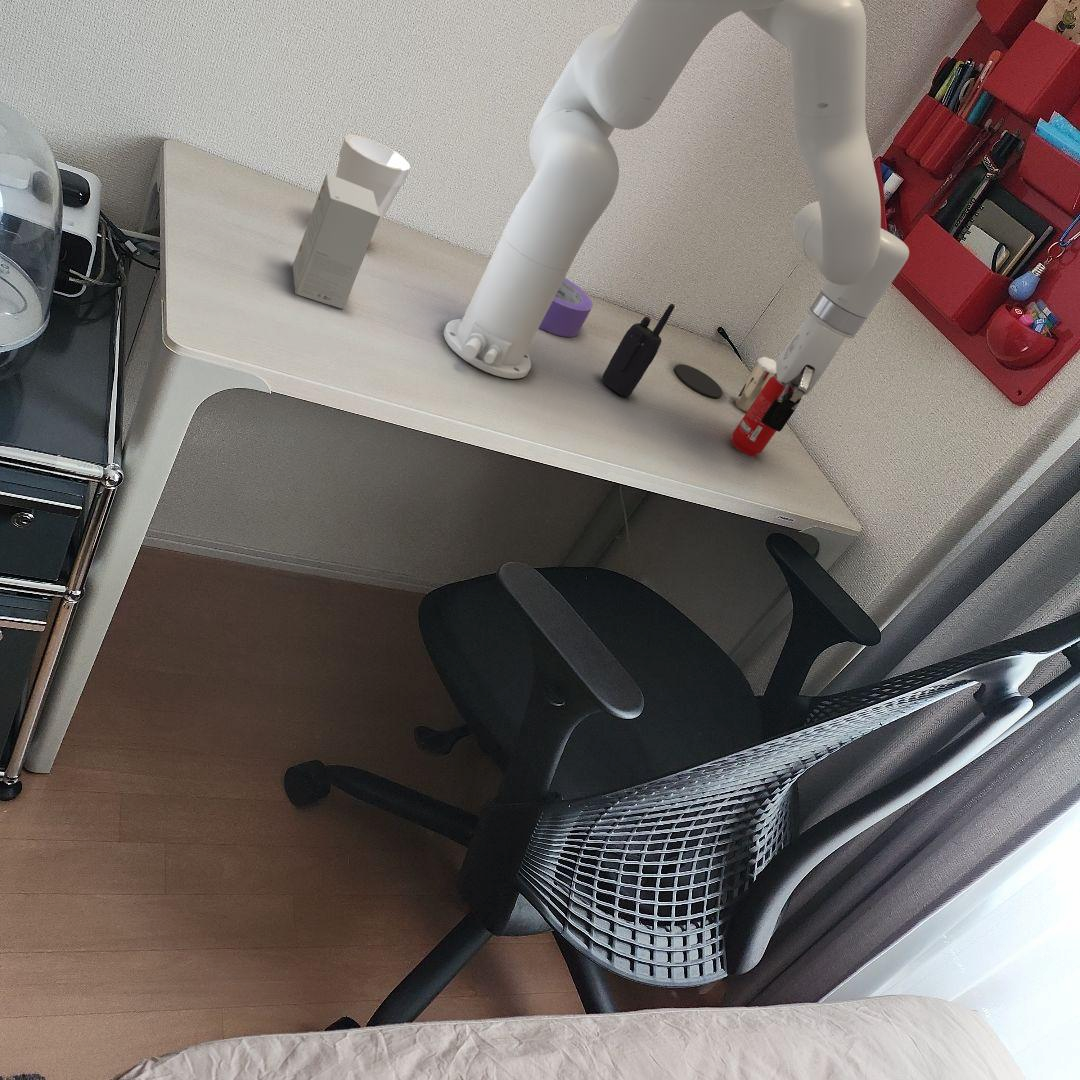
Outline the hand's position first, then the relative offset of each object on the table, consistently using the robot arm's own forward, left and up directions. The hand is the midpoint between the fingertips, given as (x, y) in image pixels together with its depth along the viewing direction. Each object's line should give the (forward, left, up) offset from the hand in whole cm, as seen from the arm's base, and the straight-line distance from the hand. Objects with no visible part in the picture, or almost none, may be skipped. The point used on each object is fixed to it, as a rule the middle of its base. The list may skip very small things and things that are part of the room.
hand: (769, 413), depth 149 cm
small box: (-24, +62, -7) cm, 67 cm away
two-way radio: (-5, +22, -7) cm, 24 cm away
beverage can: (0, 0, -7) cm, 7 cm away
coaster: (+16, +9, -7) cm, 20 cm away
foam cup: (-4, +66, -7) cm, 67 cm away
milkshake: (+16, 0, -7) cm, 17 cm away
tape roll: (+8, +36, -7) cm, 38 cm away
